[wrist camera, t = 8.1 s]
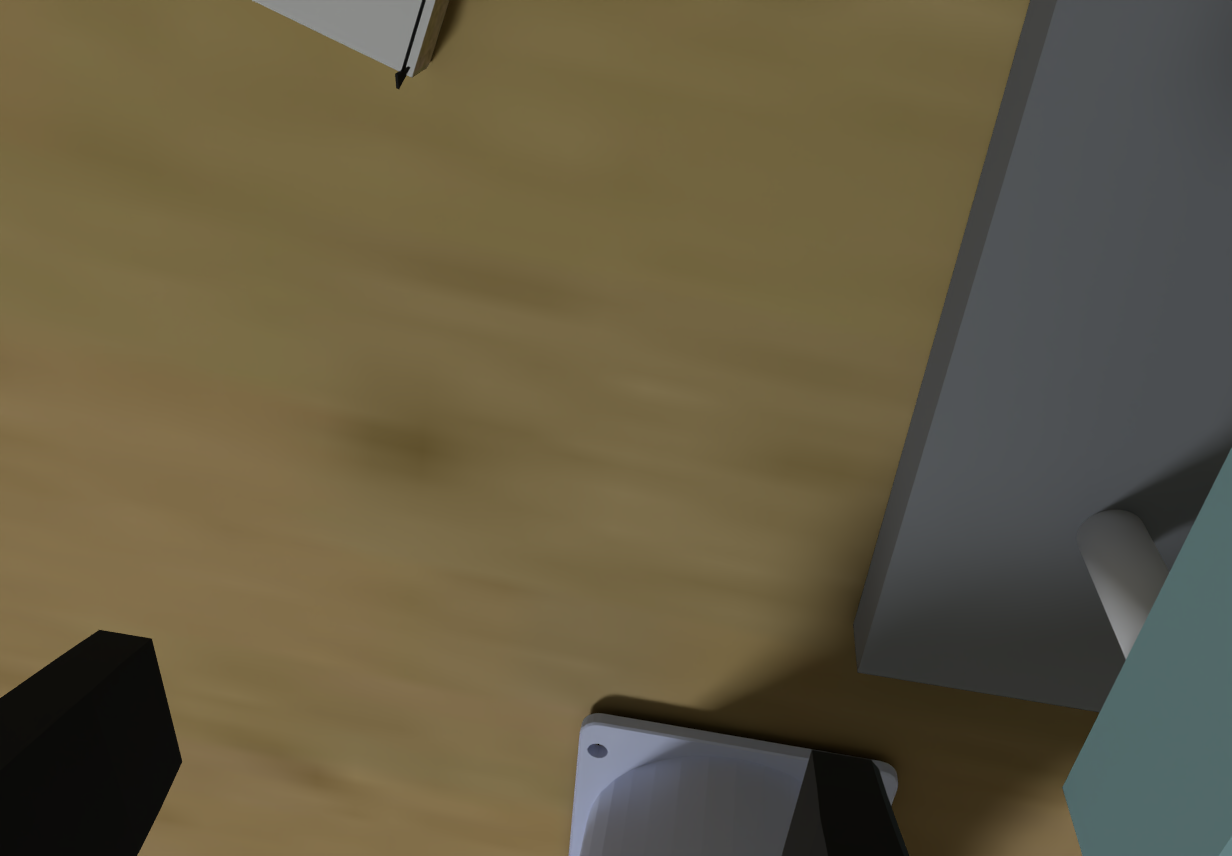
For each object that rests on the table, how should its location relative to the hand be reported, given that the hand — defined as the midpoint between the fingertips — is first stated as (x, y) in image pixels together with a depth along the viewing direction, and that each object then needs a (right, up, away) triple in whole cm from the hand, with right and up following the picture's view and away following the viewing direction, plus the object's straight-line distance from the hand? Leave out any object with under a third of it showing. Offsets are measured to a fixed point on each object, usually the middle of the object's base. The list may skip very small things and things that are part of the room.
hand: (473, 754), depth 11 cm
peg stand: (+13, +6, +7) cm, 15 cm away
